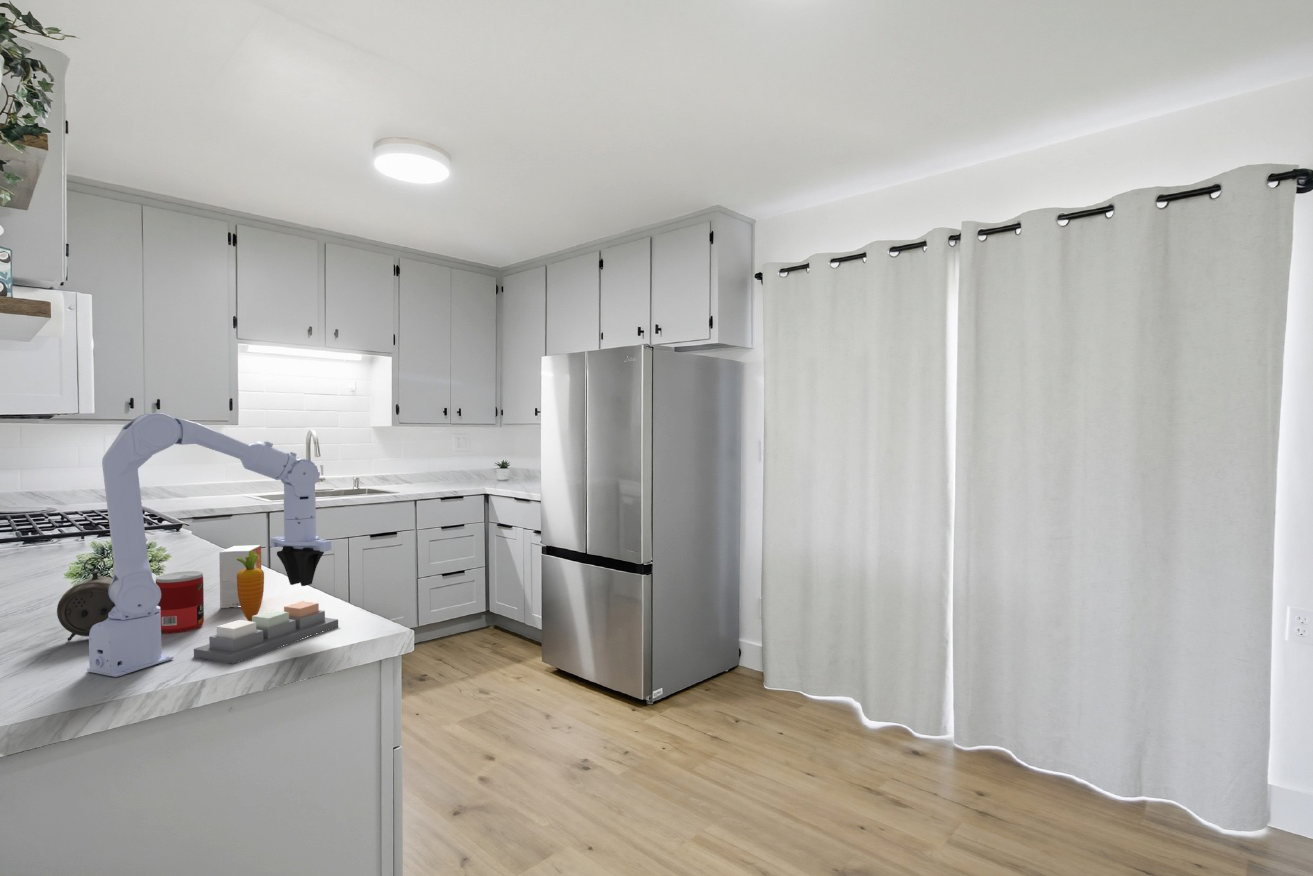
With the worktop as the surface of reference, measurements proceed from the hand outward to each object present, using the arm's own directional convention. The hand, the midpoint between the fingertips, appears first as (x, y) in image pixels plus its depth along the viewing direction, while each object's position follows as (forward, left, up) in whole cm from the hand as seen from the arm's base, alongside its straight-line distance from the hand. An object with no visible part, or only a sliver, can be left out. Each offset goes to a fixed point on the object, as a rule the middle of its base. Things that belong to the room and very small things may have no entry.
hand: (301, 584), depth 136 cm
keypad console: (-7, 0, -9) cm, 12 cm away
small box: (+10, +31, -10) cm, 34 cm away
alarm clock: (-18, +33, -10) cm, 39 cm away
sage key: (-7, 0, -6) cm, 9 cm away
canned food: (-8, +25, -10) cm, 28 cm away
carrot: (0, +15, -10) cm, 18 cm away
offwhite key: (-14, 0, -6) cm, 15 cm away
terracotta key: (0, 0, -6) cm, 6 cm away
